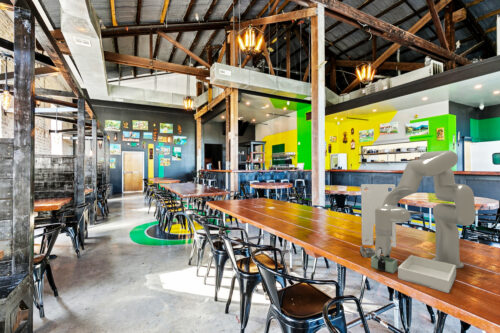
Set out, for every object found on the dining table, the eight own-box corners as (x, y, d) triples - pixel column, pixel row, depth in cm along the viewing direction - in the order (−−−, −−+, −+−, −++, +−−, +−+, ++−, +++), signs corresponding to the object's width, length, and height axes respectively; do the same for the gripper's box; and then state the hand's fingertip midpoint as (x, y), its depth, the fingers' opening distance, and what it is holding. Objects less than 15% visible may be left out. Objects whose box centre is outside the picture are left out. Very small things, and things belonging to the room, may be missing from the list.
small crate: (375, 263, 125) (375, 254, 125) (397, 269, 117) (397, 259, 117) (371, 267, 120) (371, 257, 120) (393, 273, 113) (393, 263, 113)
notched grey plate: (388, 240, 165) (387, 183, 165) (396, 246, 151) (395, 184, 151) (357, 238, 169) (356, 182, 170) (362, 244, 155) (361, 184, 156)
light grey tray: (410, 264, 123) (410, 255, 123) (456, 275, 110) (456, 265, 110) (398, 278, 108) (397, 267, 108) (448, 293, 95) (448, 280, 95)
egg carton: (359, 251, 144) (359, 244, 144) (373, 252, 142) (373, 245, 142) (361, 257, 134) (361, 250, 134) (376, 259, 132) (376, 251, 132)
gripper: (381, 227, 128) (382, 260, 128) (369, 233, 116) (369, 270, 116) (397, 230, 122) (397, 264, 122) (386, 237, 110) (386, 275, 110)
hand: (384, 266), depth 119 cm, fingers open, 6 cm apart
